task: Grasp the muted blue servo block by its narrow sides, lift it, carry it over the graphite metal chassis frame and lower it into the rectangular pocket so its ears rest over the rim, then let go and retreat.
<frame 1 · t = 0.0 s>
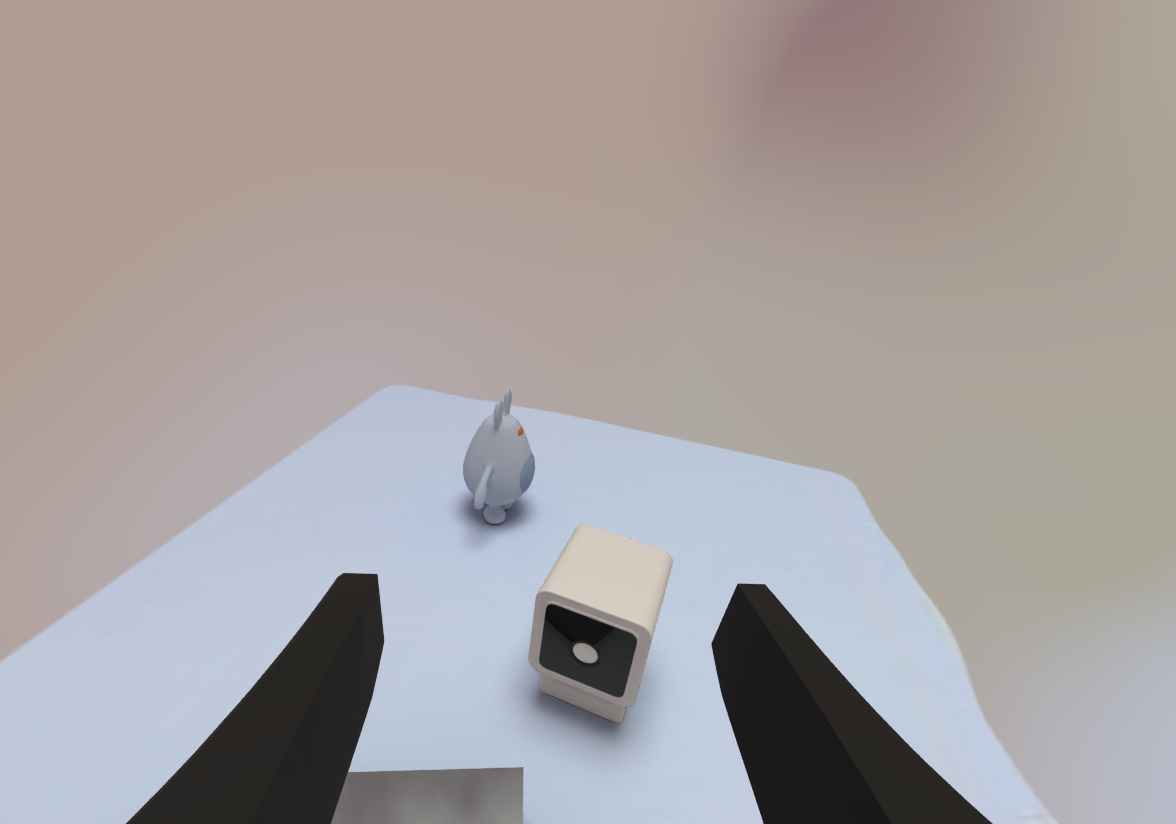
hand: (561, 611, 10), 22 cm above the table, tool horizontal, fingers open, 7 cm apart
security camera: (588, 682, 33), on the table
toy figure: (496, 513, 47), on the table
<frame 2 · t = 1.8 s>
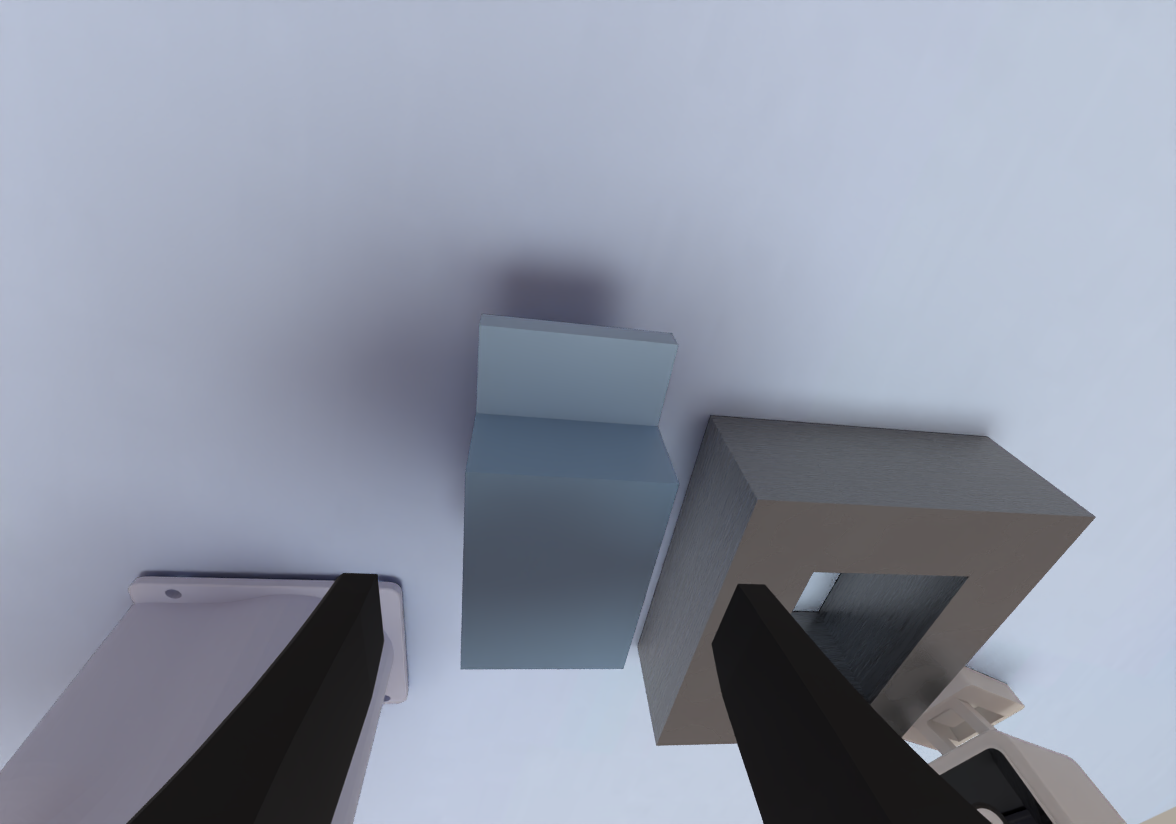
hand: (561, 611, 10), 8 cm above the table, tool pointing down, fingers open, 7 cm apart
security camera: (931, 692, 29), on the table
servo block: (549, 414, 17), on the table
chassis frame: (792, 554, 21), on the table
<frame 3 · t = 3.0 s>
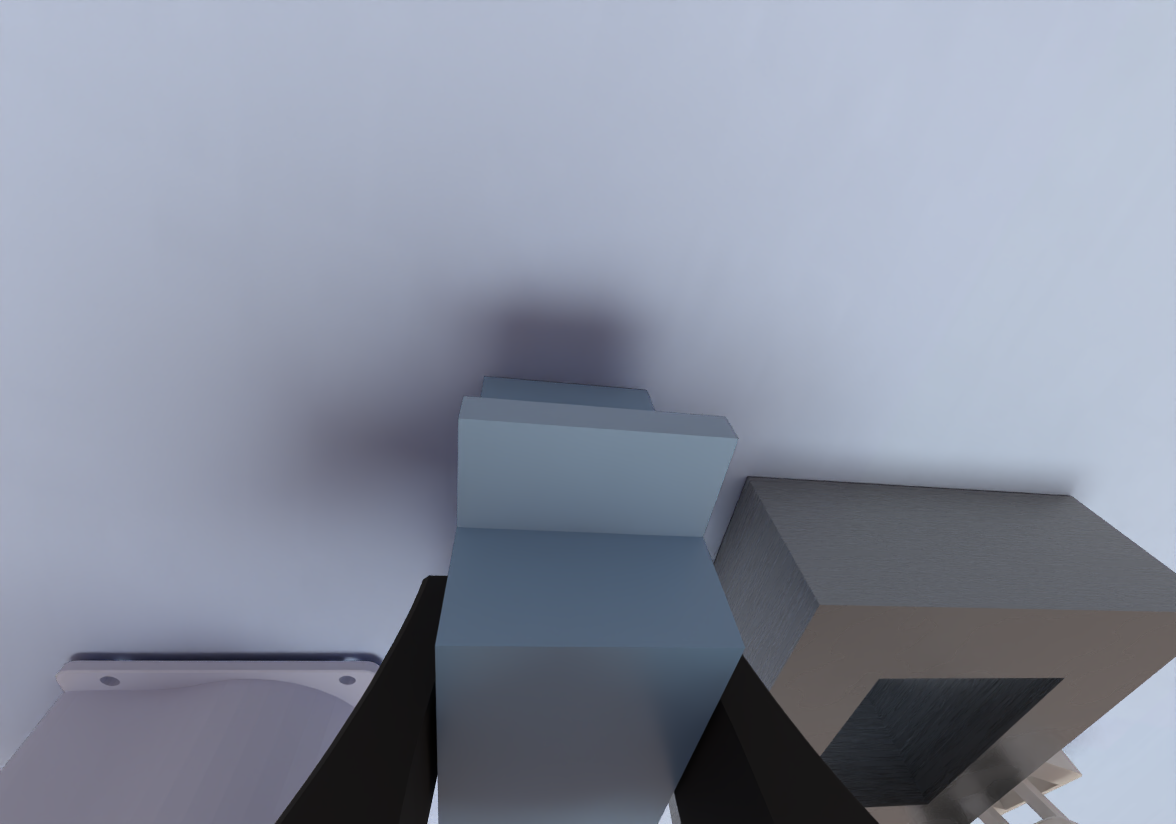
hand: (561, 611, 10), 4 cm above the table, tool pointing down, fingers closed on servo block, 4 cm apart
security camera: (976, 756, 26), on the table
servo block: (554, 479, 14), on the table, touching gripper
chassis frame: (834, 623, 19), on the table
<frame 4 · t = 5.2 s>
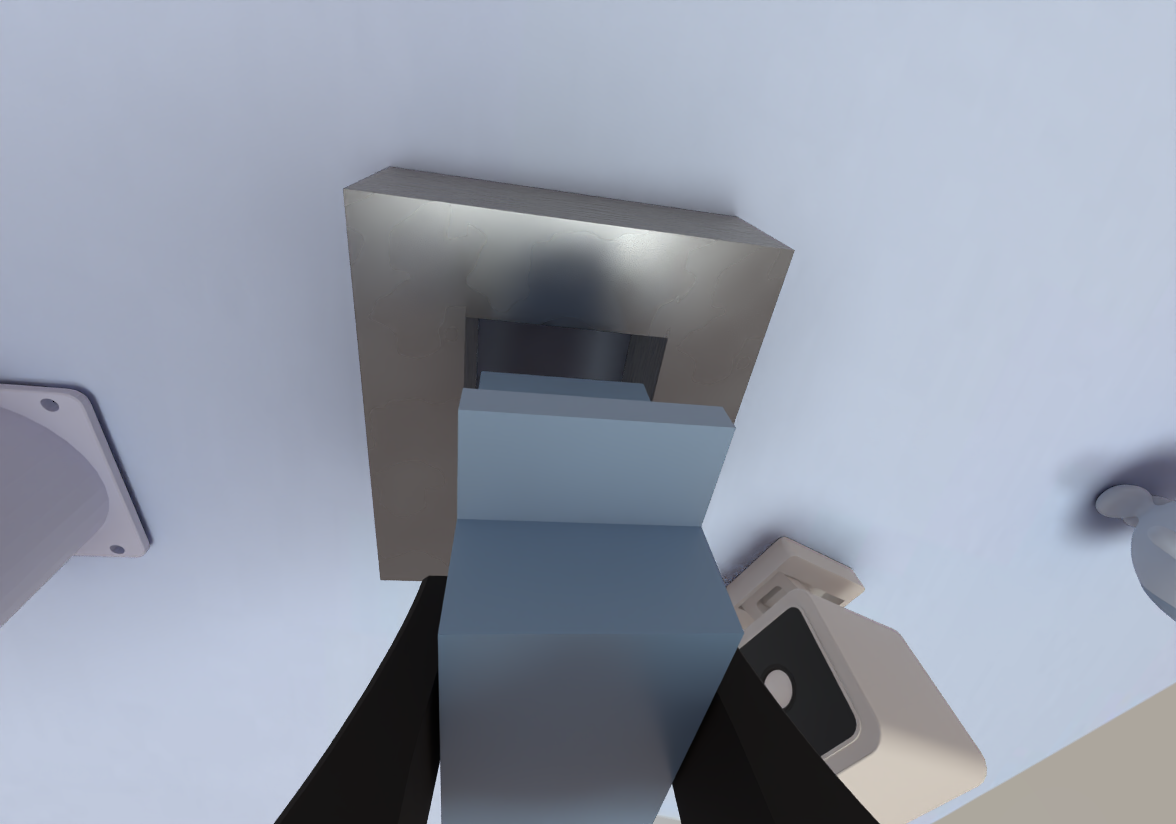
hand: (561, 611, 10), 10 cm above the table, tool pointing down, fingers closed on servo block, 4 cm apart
security camera: (771, 577, 27), on the table
servo block: (551, 473, 14), point 6 cm above the table, touching gripper
toy figure: (1124, 494, 26), on the table
chassis frame: (550, 376, 19), on the table
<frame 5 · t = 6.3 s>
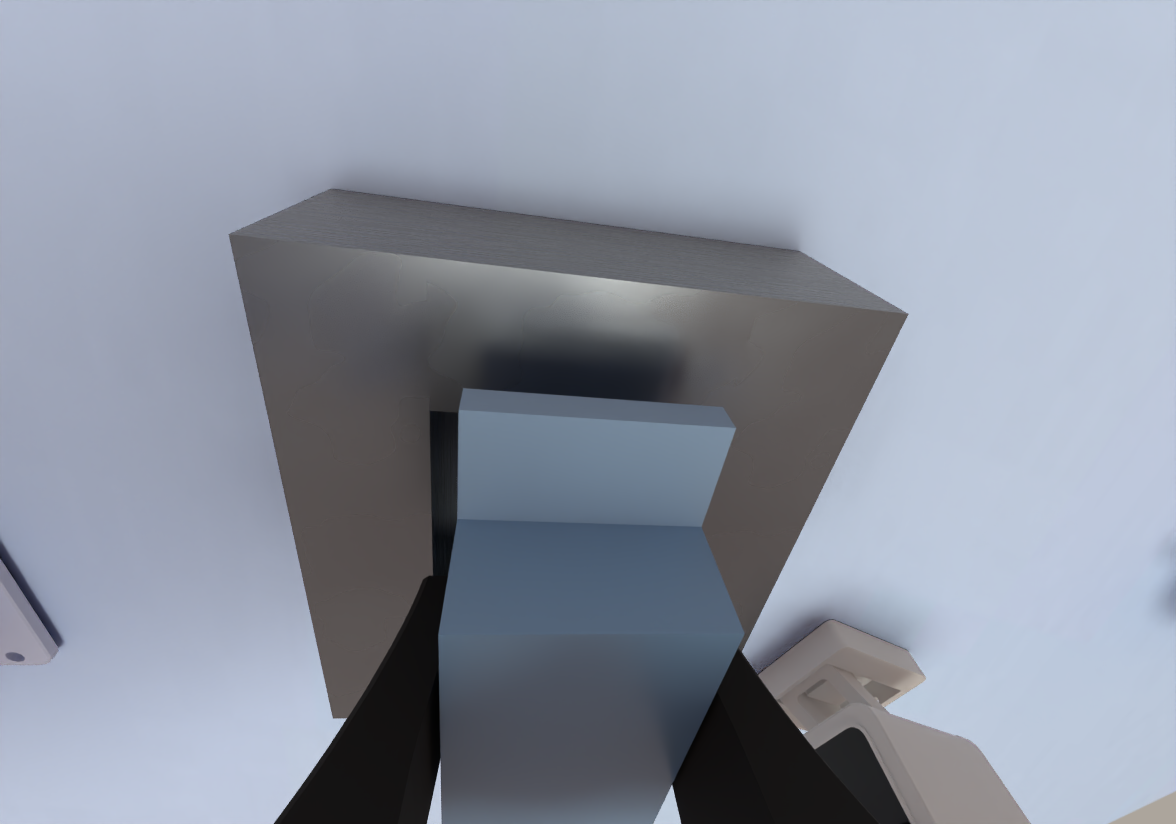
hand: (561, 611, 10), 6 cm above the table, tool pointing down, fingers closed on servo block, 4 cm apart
security camera: (812, 660, 23), on the table
servo block: (552, 473, 14), point 1 cm above the table, touching gripper
chassis frame: (552, 448, 15), on the table
when the fingers open (5 cm above the table, at t = 7.3 s): servo block stays where it is, resting in chassis frame.
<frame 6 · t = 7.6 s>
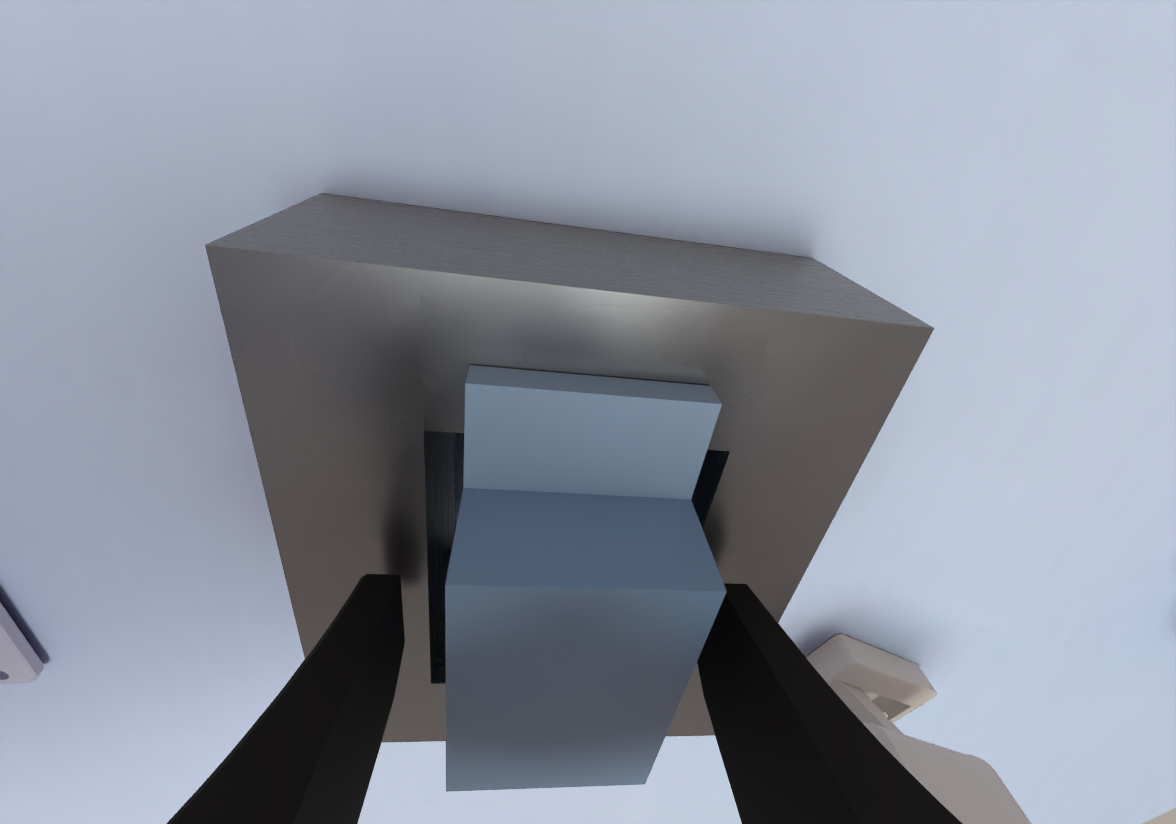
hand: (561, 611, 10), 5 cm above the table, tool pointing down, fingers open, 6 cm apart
security camera: (819, 674, 22), on the table
servo block: (553, 458, 15), resting in chassis frame
chassis frame: (553, 461, 15), on the table
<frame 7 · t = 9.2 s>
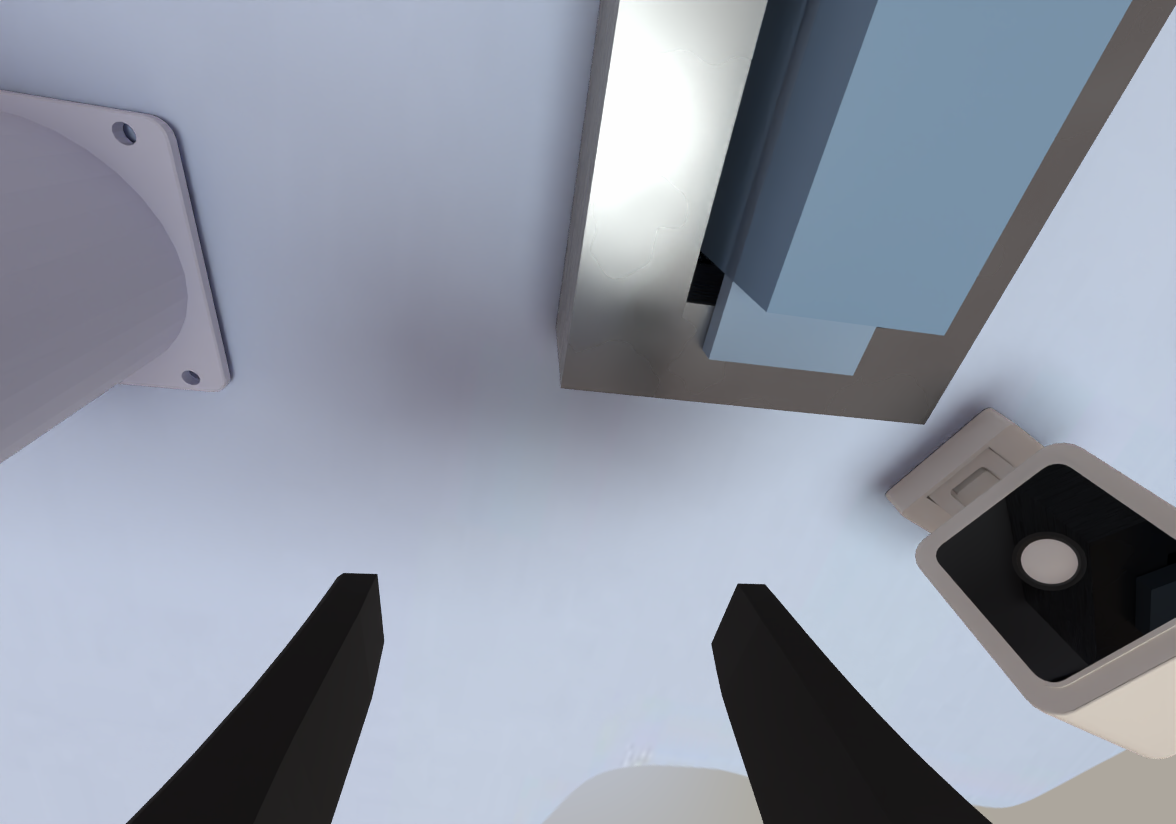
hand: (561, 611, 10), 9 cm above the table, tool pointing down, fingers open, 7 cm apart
security camera: (956, 467, 22), on the table
servo block: (772, 136, 15), resting in chassis frame
chassis frame: (773, 139, 15), on the table
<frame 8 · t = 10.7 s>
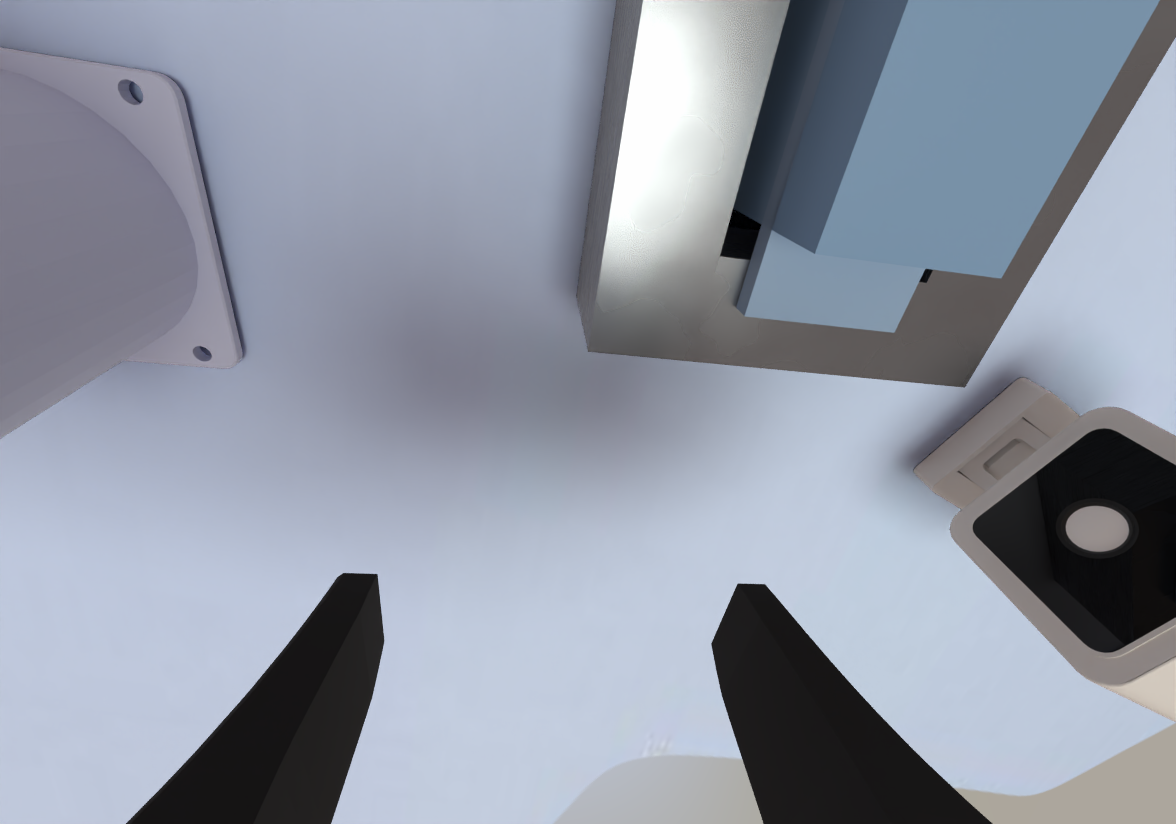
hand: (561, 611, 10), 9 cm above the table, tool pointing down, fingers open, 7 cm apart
security camera: (986, 441, 22), on the table
servo block: (802, 88, 14), resting in chassis frame
chassis frame: (803, 91, 14), on the table
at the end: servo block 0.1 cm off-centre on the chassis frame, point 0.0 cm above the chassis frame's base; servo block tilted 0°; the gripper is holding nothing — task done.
